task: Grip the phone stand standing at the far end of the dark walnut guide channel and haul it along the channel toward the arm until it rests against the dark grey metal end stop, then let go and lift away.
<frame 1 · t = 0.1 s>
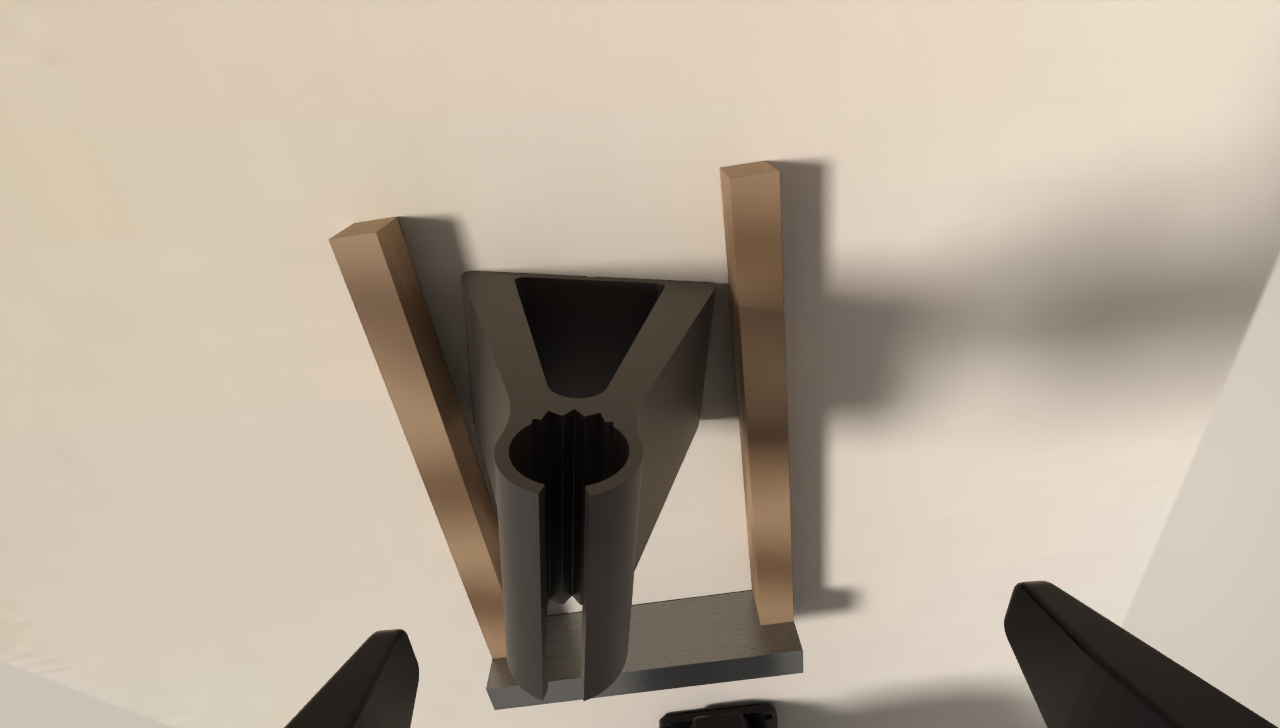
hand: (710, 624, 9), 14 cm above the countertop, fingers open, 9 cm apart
phone stand: (589, 348, 23), on the countertop
end stop: (642, 615, 30), on the countertop
guide track: (608, 446, 25), on the countertop
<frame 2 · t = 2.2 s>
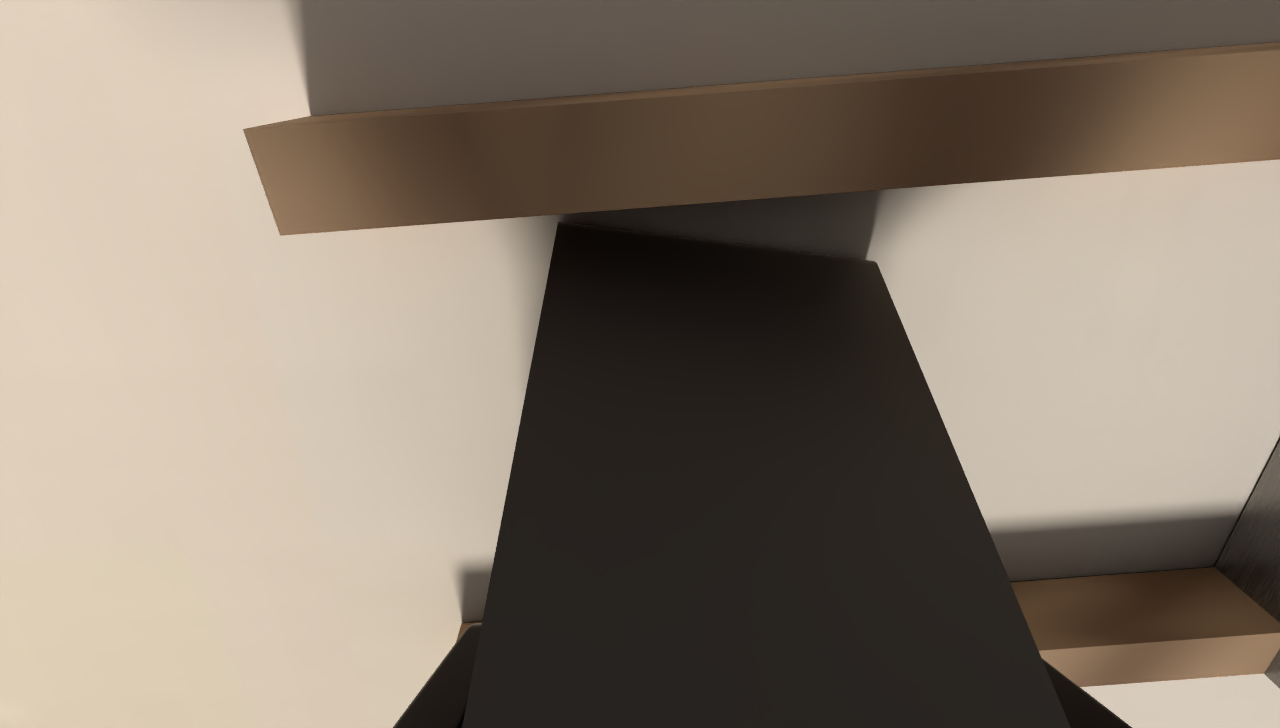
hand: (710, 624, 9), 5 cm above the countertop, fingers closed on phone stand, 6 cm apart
phone stand: (678, 428, 13), on the countertop, touching gripper
guide track: (880, 418, 13), on the countertop
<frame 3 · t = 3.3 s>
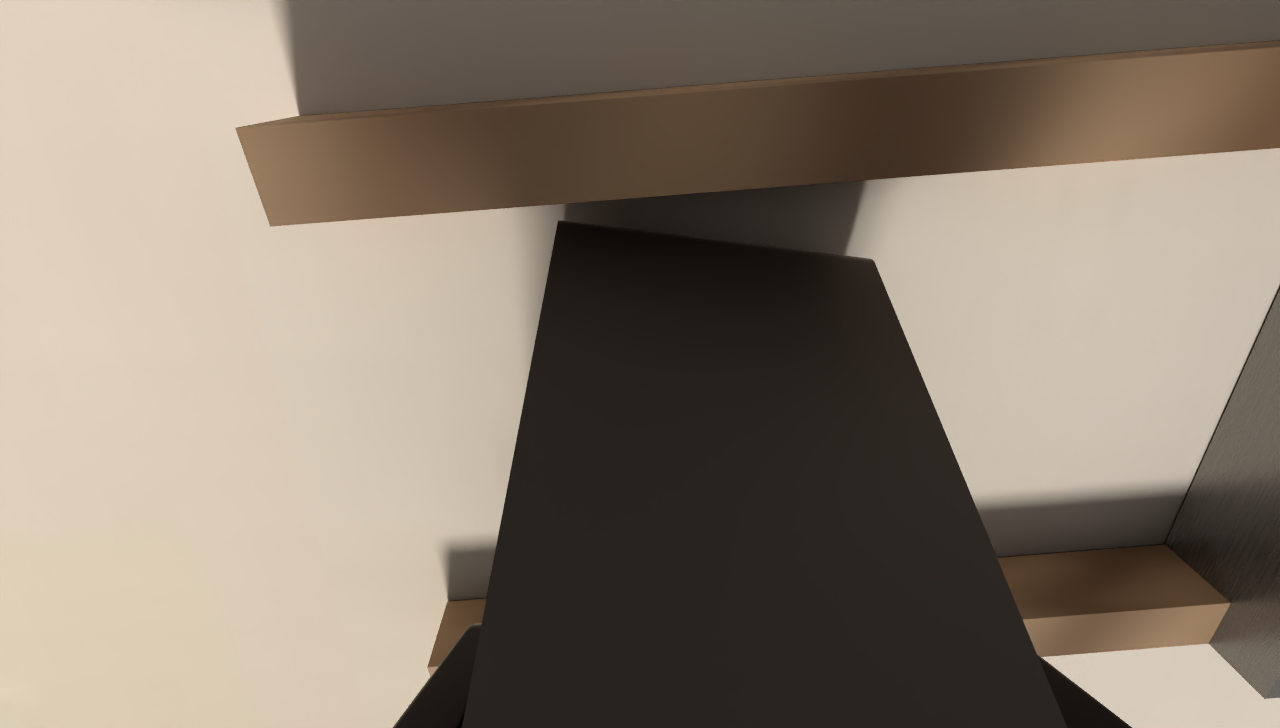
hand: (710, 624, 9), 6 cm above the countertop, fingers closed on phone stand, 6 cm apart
phone stand: (677, 425, 14), on the countertop, touching gripper
end stop: (1274, 367, 14), on the countertop
guide track: (842, 401, 14), on the countertop
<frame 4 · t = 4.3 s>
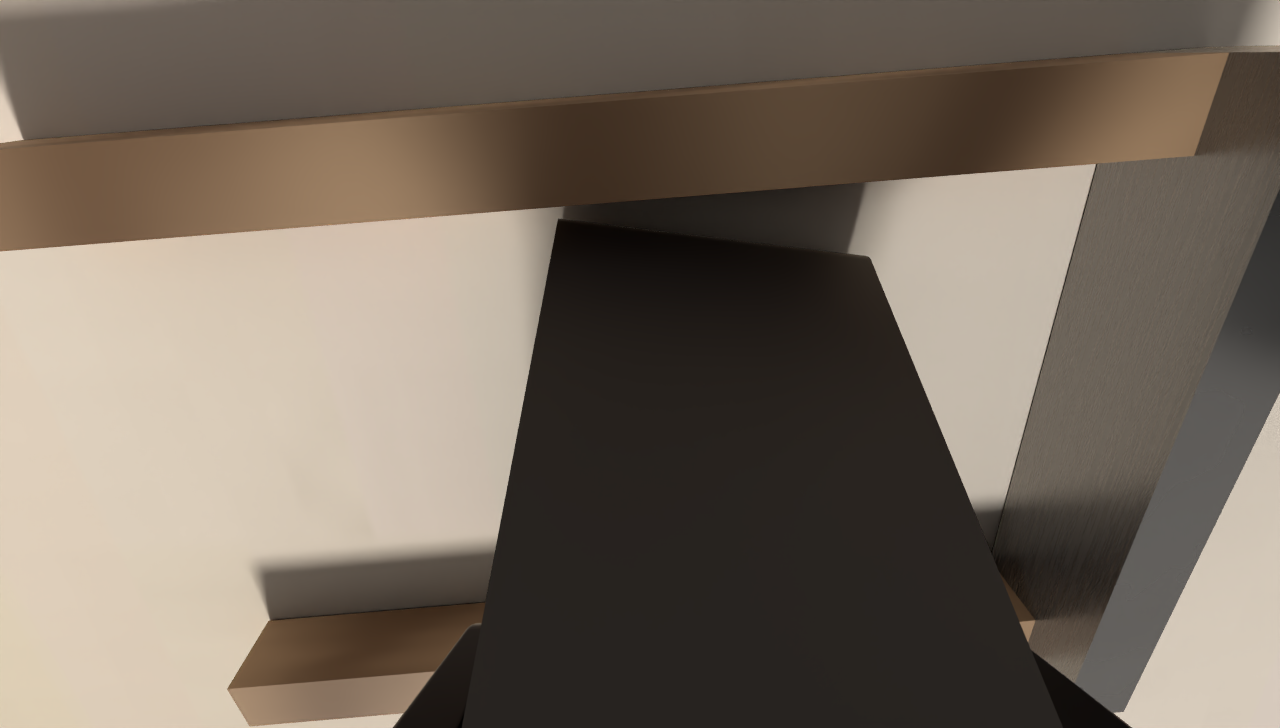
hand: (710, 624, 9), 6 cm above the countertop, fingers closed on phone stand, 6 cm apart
phone stand: (676, 422, 14), on the countertop, touching gripper
end stop: (1068, 385, 14), on the countertop
guide track: (634, 421, 14), on the countertop
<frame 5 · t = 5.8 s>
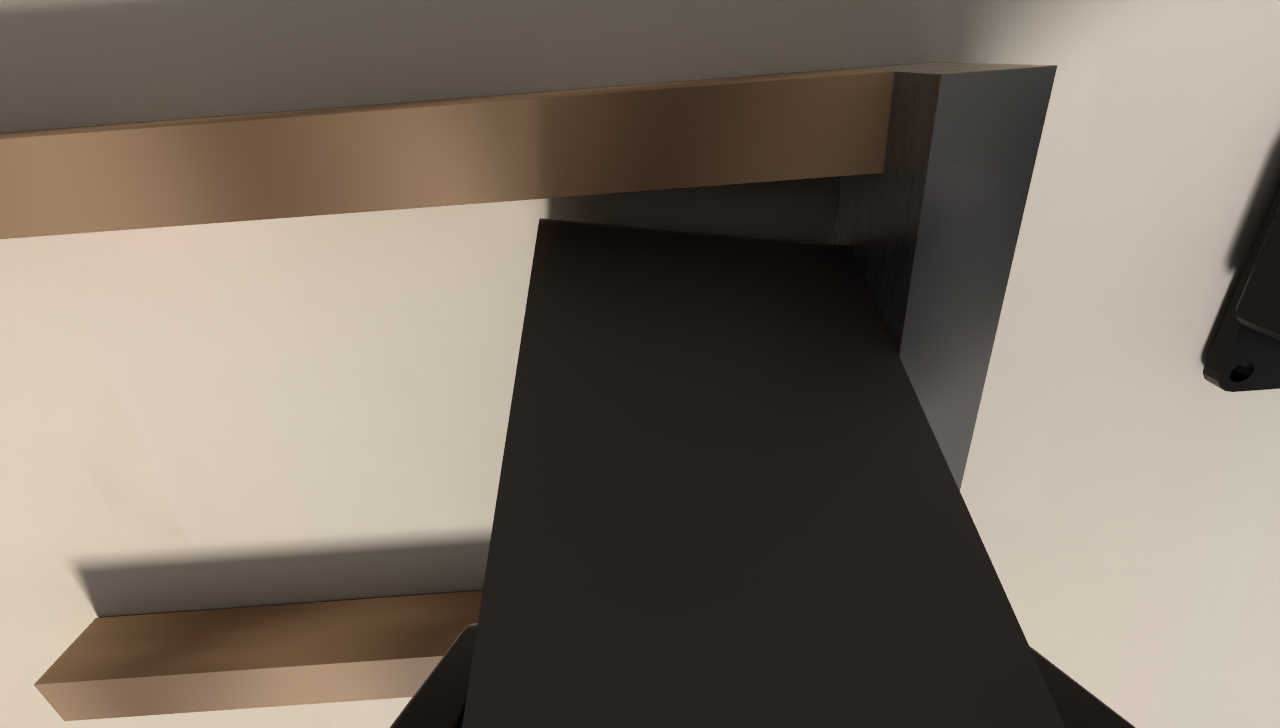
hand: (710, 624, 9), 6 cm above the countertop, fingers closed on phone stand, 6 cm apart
phone stand: (665, 417, 14), on the countertop, touching end stop, gripper
end stop: (853, 396, 14), on the countertop
guide track: (421, 427, 14), on the countertop
when the fingers open (6 cm above the countertop, at t = 6.8 s): phone stand stays where it is, on the countertop.
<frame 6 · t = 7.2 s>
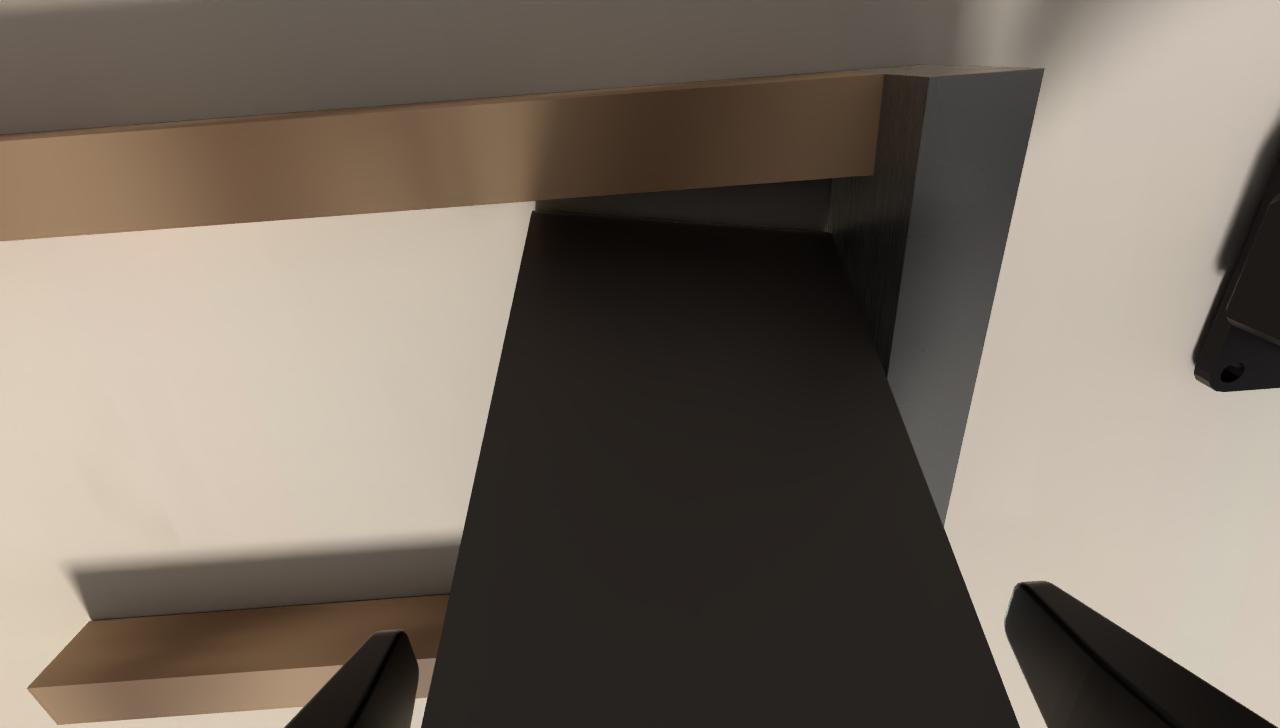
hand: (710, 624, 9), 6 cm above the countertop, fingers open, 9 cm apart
phone stand: (660, 401, 14), on the countertop
end stop: (846, 396, 14), on the countertop
guide track: (415, 429, 14), on the countertop
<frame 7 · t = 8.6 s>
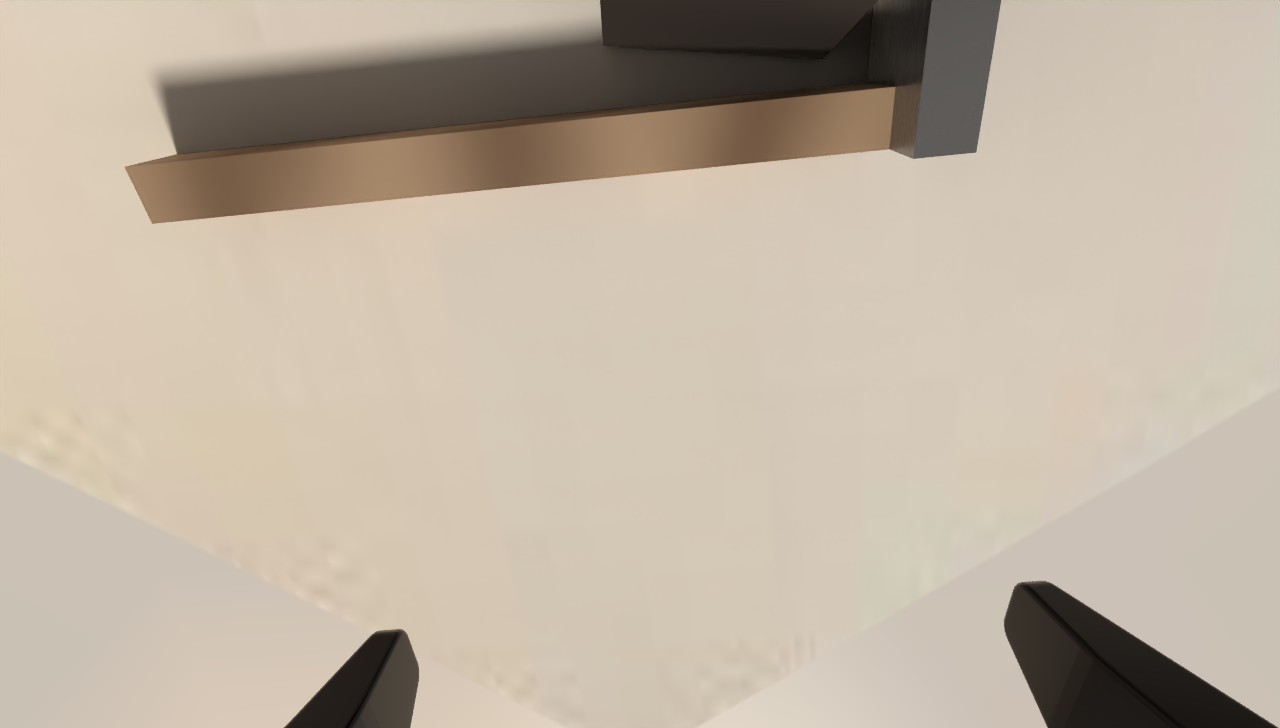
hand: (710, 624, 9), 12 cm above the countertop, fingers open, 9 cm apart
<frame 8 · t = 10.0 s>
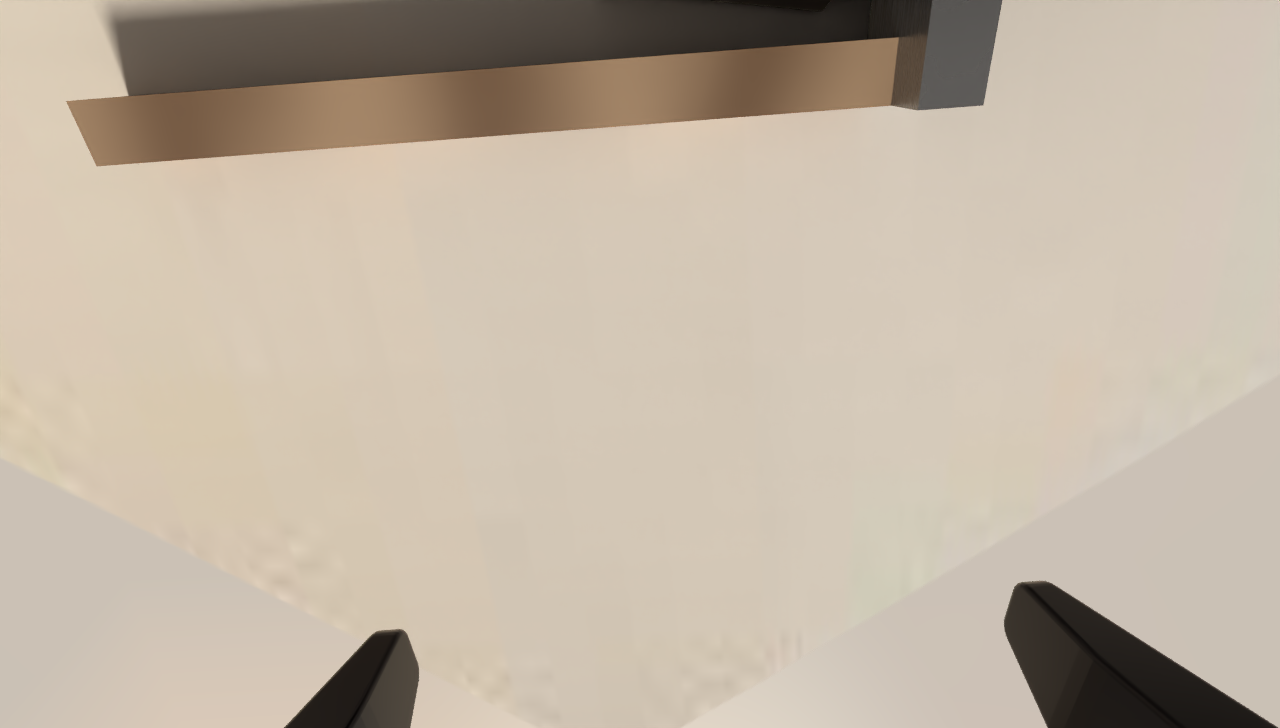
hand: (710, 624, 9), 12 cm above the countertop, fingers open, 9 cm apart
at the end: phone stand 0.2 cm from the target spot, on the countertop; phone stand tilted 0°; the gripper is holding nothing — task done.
